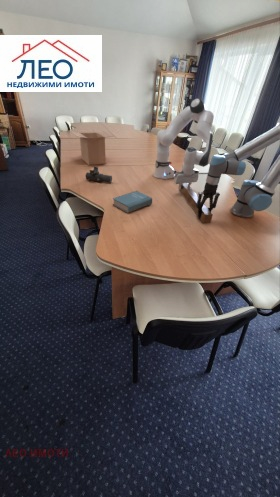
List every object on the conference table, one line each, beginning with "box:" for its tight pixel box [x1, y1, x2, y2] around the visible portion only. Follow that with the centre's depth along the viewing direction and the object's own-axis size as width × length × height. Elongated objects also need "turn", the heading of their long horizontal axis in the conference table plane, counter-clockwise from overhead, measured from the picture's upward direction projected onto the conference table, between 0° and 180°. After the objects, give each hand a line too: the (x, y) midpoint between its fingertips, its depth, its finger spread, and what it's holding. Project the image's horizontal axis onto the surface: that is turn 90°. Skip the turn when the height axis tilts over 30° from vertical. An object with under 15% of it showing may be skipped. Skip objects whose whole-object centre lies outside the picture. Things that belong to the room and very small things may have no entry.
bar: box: [178, 183, 214, 224], centre depth 161 cm, size 56×5×6 cm, turn 8°
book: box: [112, 190, 153, 214], centre depth 155 cm, size 23×16×5 cm
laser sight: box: [85, 166, 113, 184], centre depth 187 cm, size 10×22×10 cm, turn 78°
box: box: [70, 129, 114, 166], centre depth 229 cm, size 44×36×27 cm
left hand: (184, 188), depth 177 cm, fingers closed on bar, 5 cm apart
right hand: (202, 217), depth 146 cm, fingers closed on bar, 5 cm apart
